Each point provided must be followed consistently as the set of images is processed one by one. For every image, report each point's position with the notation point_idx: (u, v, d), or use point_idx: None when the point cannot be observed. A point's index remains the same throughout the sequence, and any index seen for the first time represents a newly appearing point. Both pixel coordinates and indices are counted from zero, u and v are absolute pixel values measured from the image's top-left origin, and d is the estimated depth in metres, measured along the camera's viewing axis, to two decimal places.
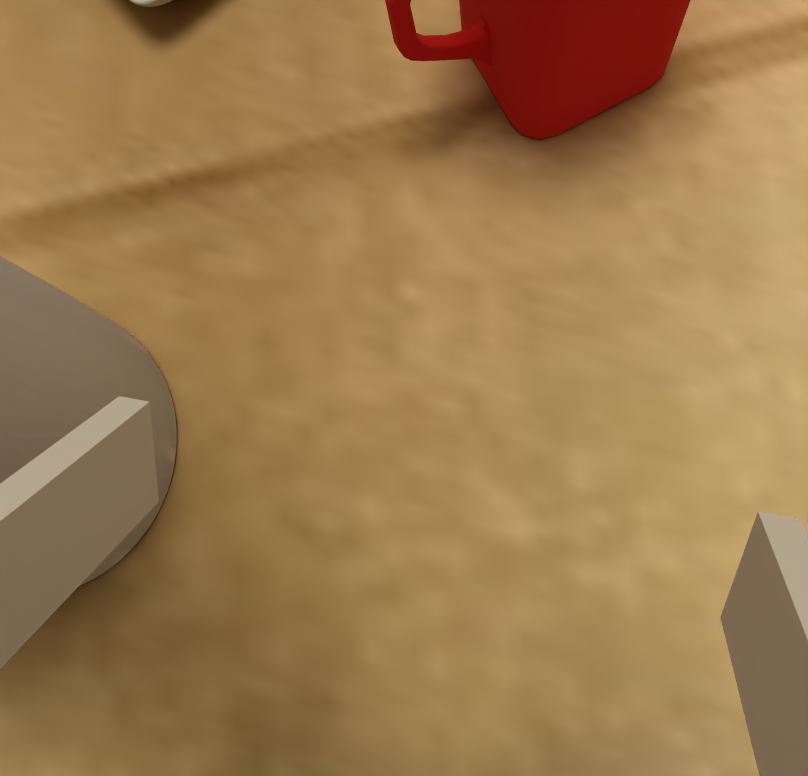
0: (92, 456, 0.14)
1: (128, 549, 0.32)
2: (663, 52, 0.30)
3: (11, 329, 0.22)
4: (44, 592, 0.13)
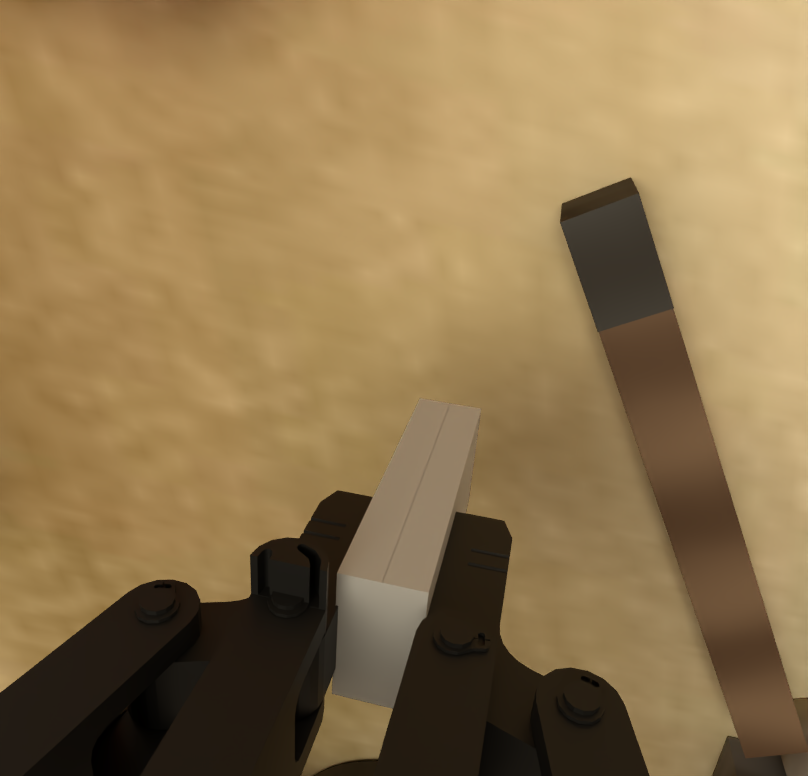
0: (433, 454, 0.15)
1: None
2: None
3: None
4: None
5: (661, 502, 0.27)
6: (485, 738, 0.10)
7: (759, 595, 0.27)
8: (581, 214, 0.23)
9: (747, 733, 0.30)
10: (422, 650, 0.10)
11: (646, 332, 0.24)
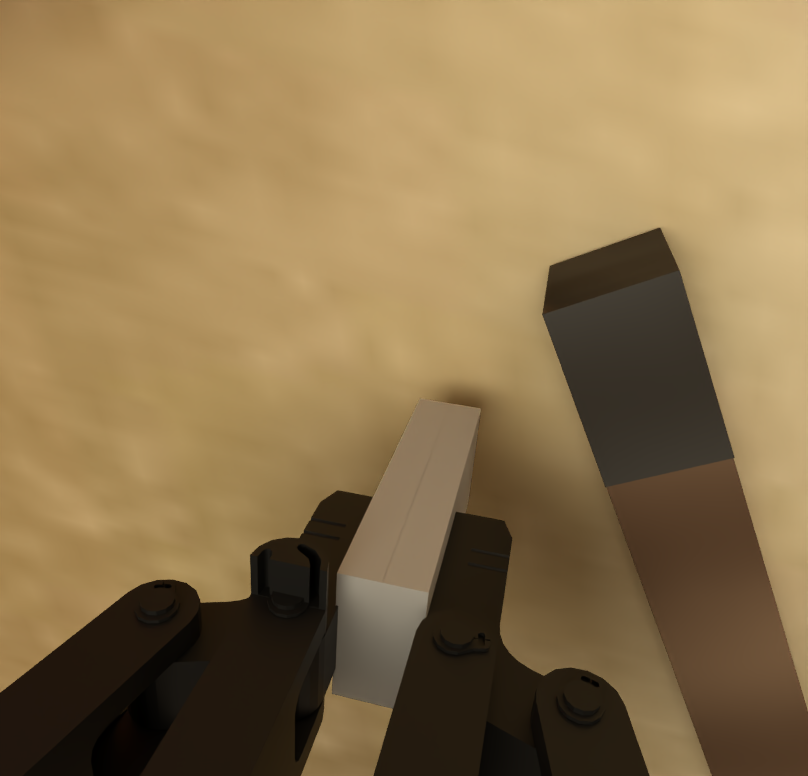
0: (433, 454, 0.15)
1: None
2: None
3: None
4: None
5: (702, 732, 0.17)
6: (485, 738, 0.10)
7: None
8: (578, 302, 0.13)
9: None
10: (422, 650, 0.10)
11: (685, 491, 0.14)
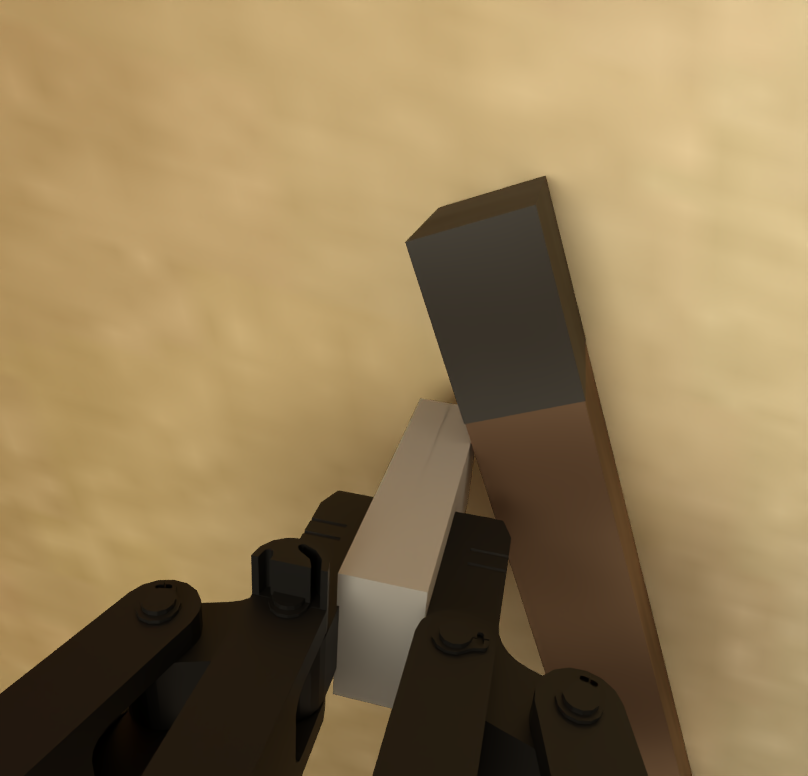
0: (434, 454, 0.15)
1: None
2: None
3: None
4: None
5: None
6: (484, 738, 0.10)
7: None
8: (440, 232, 0.13)
9: None
10: (421, 650, 0.10)
11: (539, 432, 0.15)
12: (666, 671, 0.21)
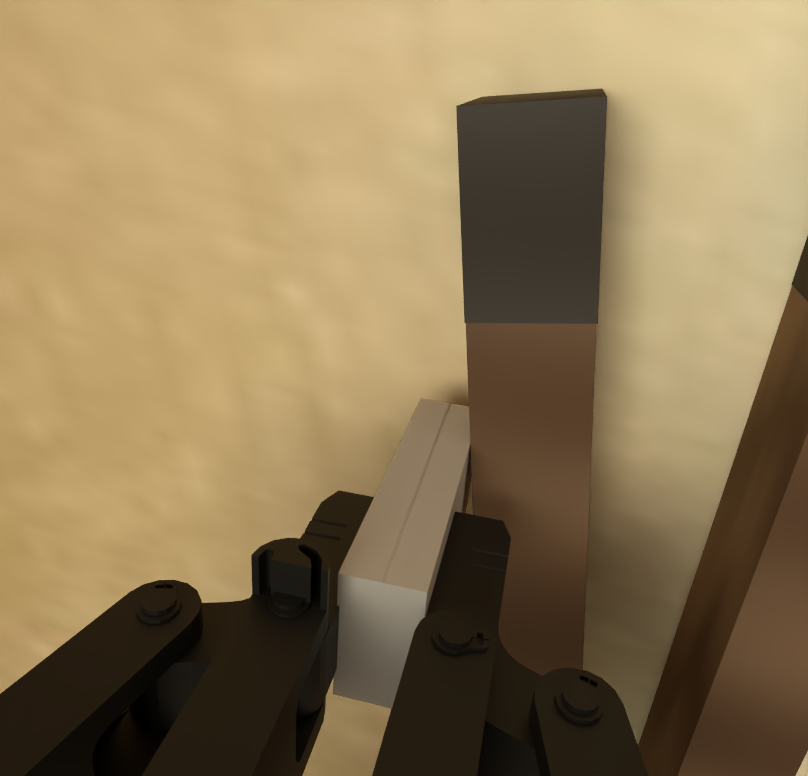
0: (434, 454, 0.15)
1: None
2: None
3: None
4: None
5: None
6: (484, 738, 0.10)
7: None
8: (497, 104, 0.12)
9: None
10: (421, 650, 0.10)
11: (541, 348, 0.14)
12: None
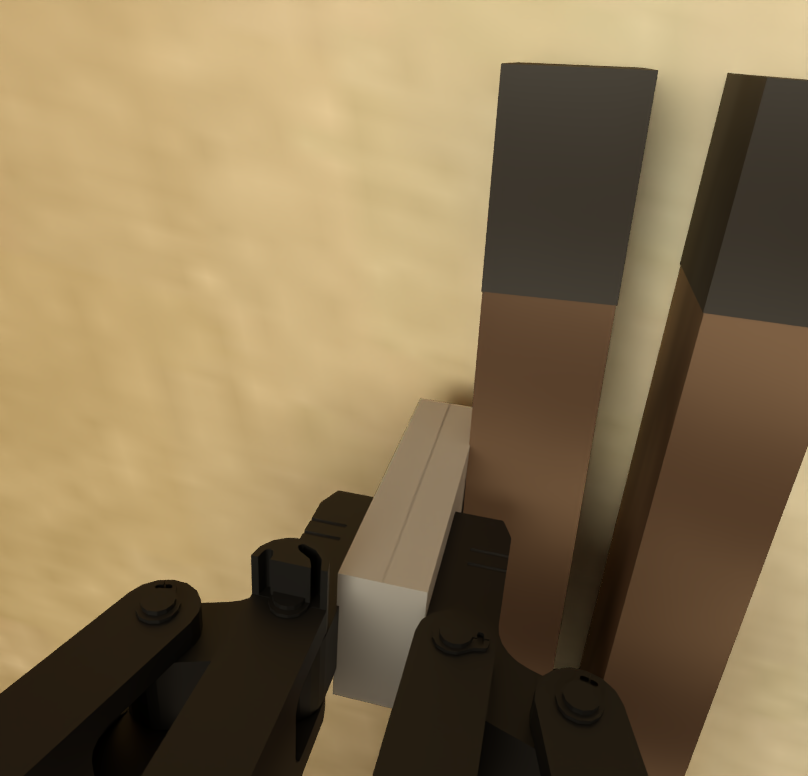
0: (433, 454, 0.15)
1: None
2: None
3: None
4: None
5: None
6: (484, 738, 0.10)
7: None
8: (543, 66, 0.12)
9: None
10: (421, 650, 0.10)
11: (556, 325, 0.14)
12: None
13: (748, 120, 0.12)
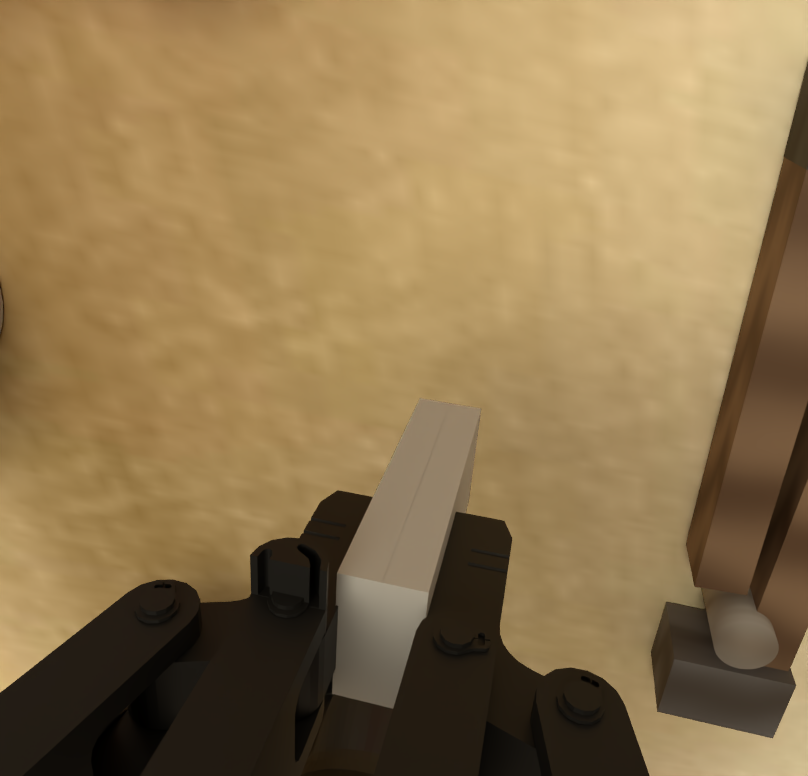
0: (433, 454, 0.15)
1: None
2: None
3: None
4: None
5: (763, 343, 0.30)
6: (485, 738, 0.10)
7: (790, 451, 0.32)
8: None
9: (708, 566, 0.35)
10: (422, 650, 0.10)
11: None
12: None
13: None
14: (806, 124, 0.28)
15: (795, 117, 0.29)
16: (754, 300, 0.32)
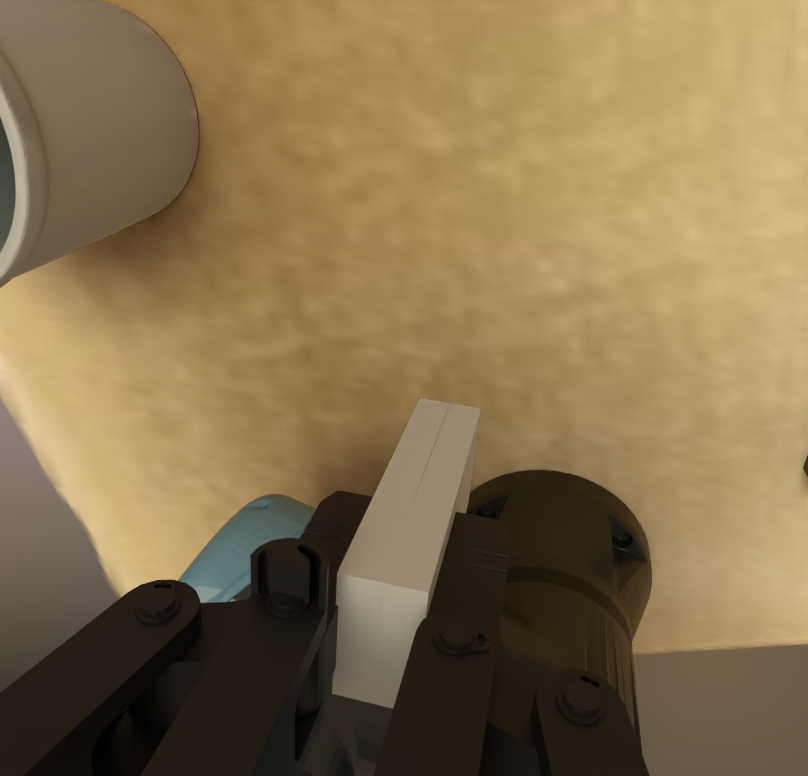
0: (433, 455, 0.15)
1: (184, 183, 0.47)
2: None
3: (67, 68, 0.34)
4: None
5: None
6: (485, 738, 0.10)
7: None
8: None
9: None
10: (422, 650, 0.10)
11: None
12: None
13: None
14: None
15: None
16: None
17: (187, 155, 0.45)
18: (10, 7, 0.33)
